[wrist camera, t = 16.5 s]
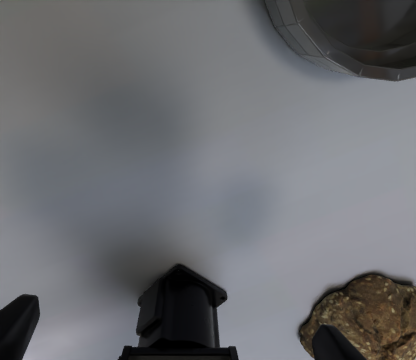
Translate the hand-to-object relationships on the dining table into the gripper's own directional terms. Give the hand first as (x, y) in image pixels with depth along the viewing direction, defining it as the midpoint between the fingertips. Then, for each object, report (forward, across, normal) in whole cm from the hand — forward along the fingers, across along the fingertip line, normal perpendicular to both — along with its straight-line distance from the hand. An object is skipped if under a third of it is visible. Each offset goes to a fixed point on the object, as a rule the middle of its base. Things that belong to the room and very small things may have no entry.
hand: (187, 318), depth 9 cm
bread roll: (+13, -22, +15) cm, 29 cm away
